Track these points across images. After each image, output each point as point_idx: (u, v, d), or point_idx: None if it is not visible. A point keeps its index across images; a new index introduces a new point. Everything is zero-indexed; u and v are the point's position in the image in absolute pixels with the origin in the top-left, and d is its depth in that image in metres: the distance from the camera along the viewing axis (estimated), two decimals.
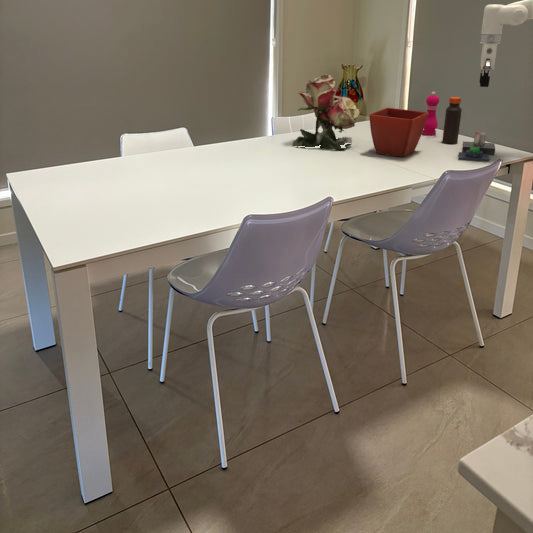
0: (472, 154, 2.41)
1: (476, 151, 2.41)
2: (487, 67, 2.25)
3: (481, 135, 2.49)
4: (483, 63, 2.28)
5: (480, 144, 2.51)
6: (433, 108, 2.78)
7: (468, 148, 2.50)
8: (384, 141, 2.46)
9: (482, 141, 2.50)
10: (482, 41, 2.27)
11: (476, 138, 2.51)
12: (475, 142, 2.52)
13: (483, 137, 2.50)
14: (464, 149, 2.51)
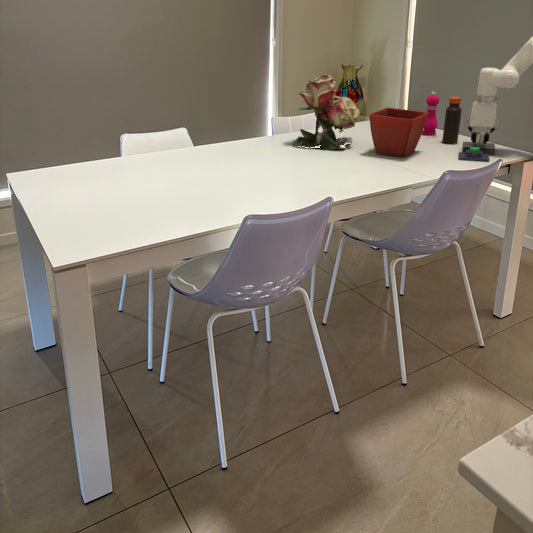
0: (472, 154, 2.41)
1: (476, 151, 2.41)
2: None
3: (481, 135, 2.49)
4: None
5: (480, 144, 2.51)
6: (433, 108, 2.78)
7: (468, 148, 2.50)
8: (384, 141, 2.46)
9: (482, 141, 2.50)
10: (491, 102, 2.42)
11: (476, 138, 2.51)
12: (475, 142, 2.52)
13: (483, 137, 2.50)
14: (464, 149, 2.51)
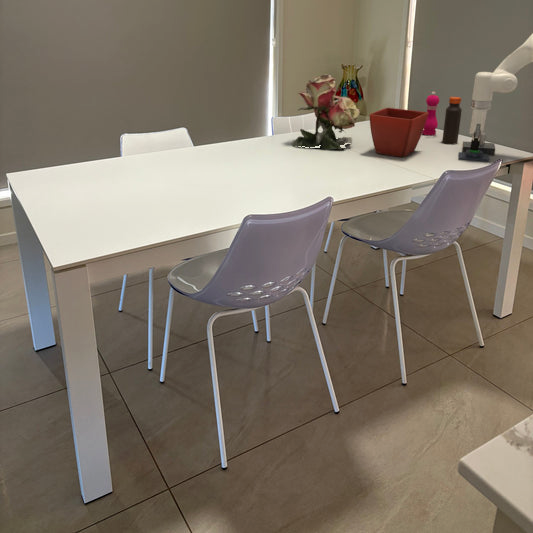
0: (472, 154, 2.41)
1: None
2: None
3: None
4: None
5: None
6: (433, 108, 2.78)
7: (468, 148, 2.50)
8: (384, 141, 2.46)
9: None
10: None
11: (483, 138, 2.50)
12: (482, 143, 2.51)
13: None
14: (464, 149, 2.51)
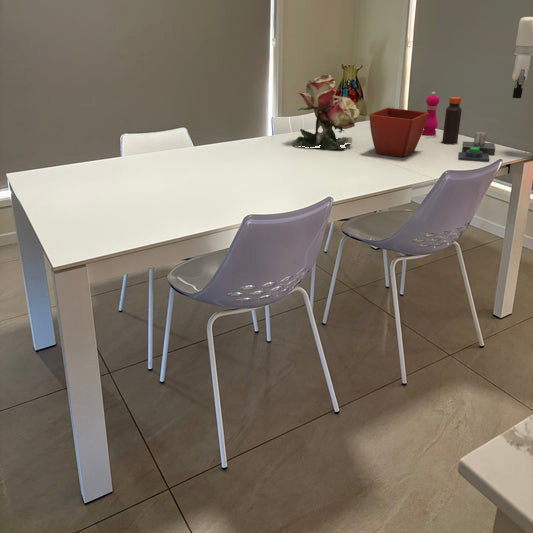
0: (472, 154, 2.41)
1: (476, 151, 2.41)
2: None
3: None
4: None
5: None
6: (433, 108, 2.78)
7: (468, 148, 2.50)
8: (384, 141, 2.46)
9: None
10: None
11: (483, 138, 2.50)
12: (482, 143, 2.51)
13: None
14: (464, 149, 2.51)
